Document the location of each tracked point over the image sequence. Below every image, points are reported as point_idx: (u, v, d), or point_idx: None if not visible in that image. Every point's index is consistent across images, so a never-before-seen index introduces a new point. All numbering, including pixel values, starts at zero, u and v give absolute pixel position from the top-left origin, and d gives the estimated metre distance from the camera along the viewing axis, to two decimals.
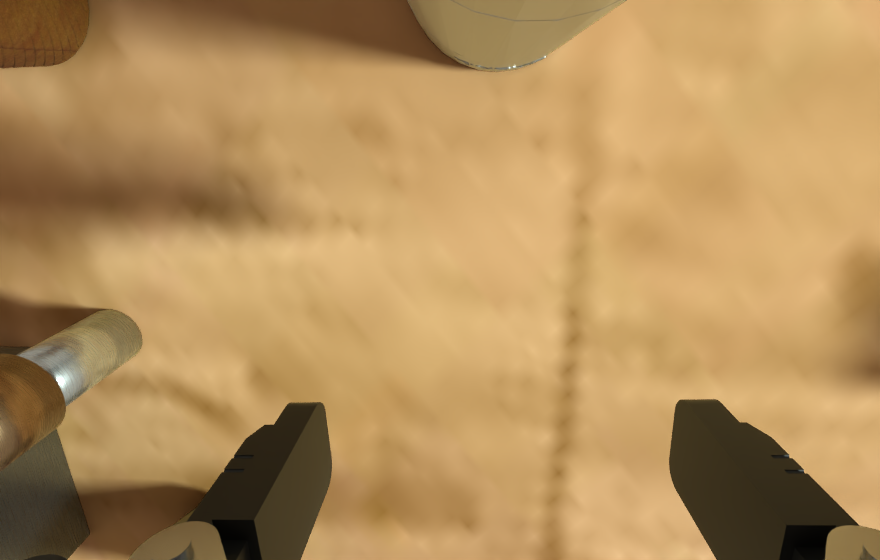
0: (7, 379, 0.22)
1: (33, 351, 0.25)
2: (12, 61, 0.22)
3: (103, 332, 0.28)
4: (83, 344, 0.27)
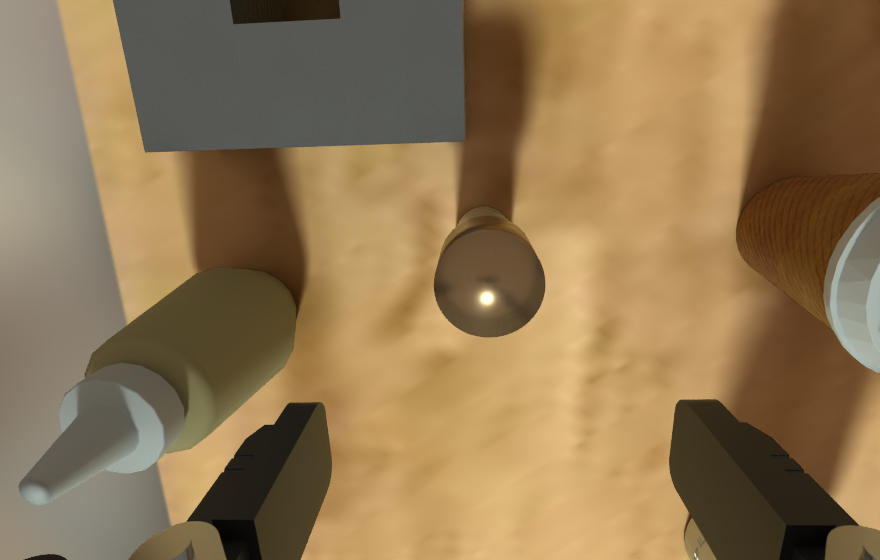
0: None
1: None
2: (763, 265, 0.27)
3: None
4: None
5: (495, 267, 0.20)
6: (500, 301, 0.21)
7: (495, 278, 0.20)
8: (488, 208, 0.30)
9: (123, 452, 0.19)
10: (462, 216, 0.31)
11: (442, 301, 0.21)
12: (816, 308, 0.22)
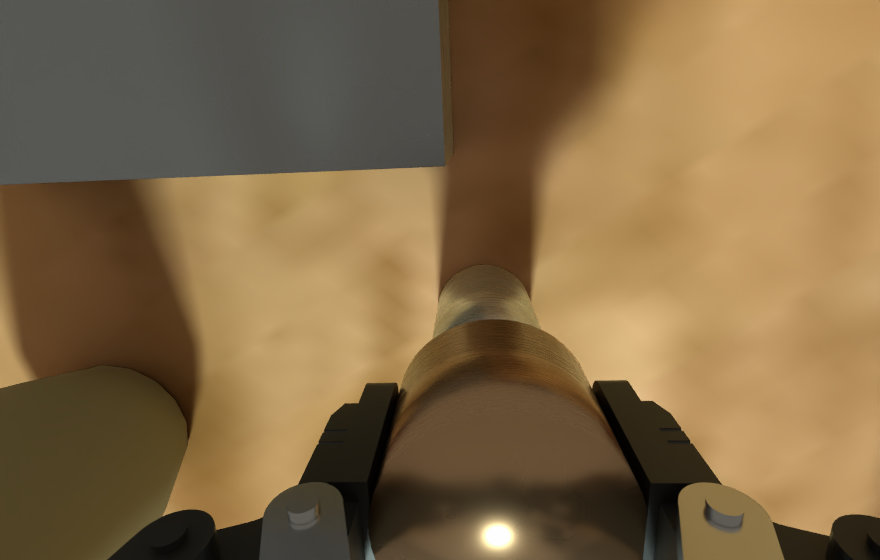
0: None
1: None
2: None
3: None
4: None
5: (522, 496, 0.08)
6: None
7: (522, 519, 0.08)
8: (492, 269, 0.18)
9: None
10: None
11: None
12: None
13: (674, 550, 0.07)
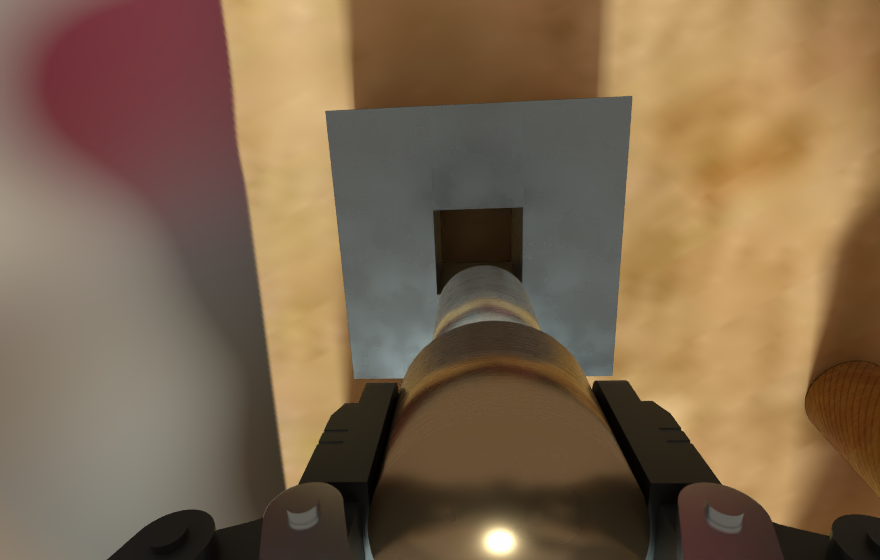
0: None
1: None
2: (834, 442, 0.33)
3: None
4: None
5: (522, 499, 0.08)
6: None
7: (522, 522, 0.08)
8: (492, 270, 0.17)
9: None
10: None
11: None
12: None
13: (674, 550, 0.07)
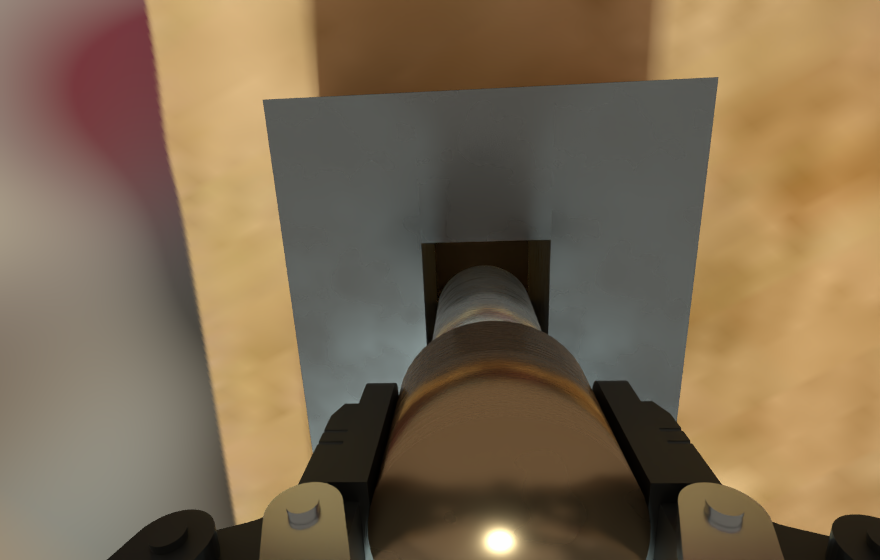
0: None
1: None
2: None
3: None
4: None
5: (522, 499, 0.08)
6: None
7: (522, 522, 0.08)
8: (492, 270, 0.17)
9: None
10: None
11: None
12: None
13: (674, 550, 0.07)
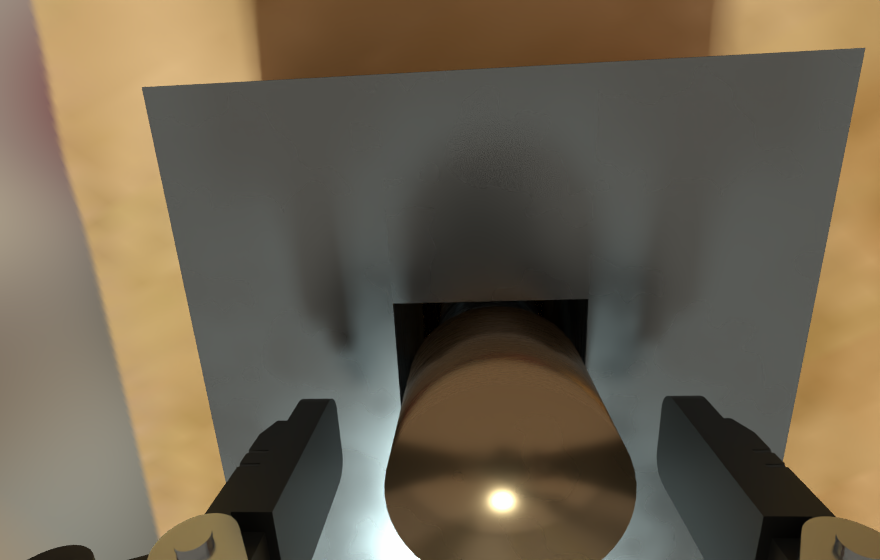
0: None
1: None
2: None
3: None
4: None
5: (522, 460, 0.09)
6: (533, 525, 0.09)
7: (522, 480, 0.09)
8: None
9: None
10: None
11: (404, 522, 0.09)
12: None
13: None
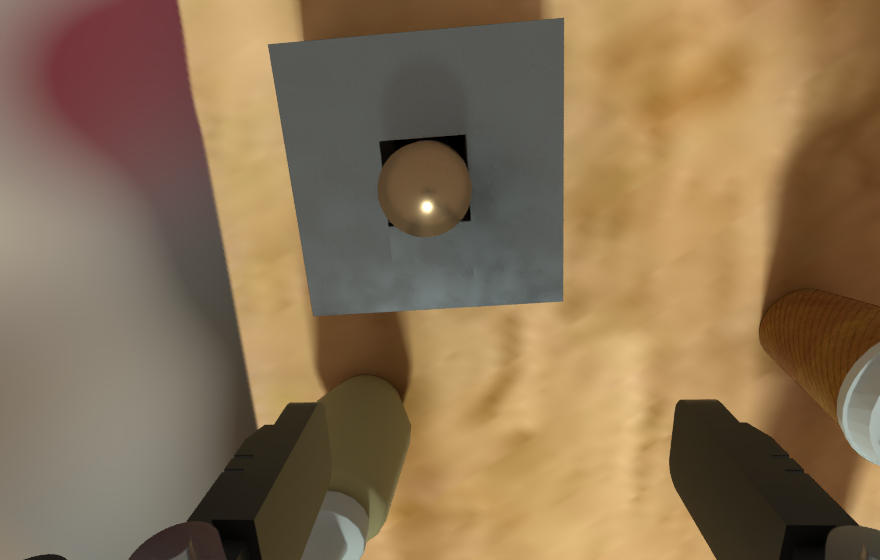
0: None
1: None
2: (784, 366, 0.35)
3: None
4: None
5: (428, 174, 0.24)
6: (435, 204, 0.24)
7: (429, 183, 0.24)
8: None
9: None
10: None
11: (385, 206, 0.24)
12: (830, 414, 0.30)
13: None
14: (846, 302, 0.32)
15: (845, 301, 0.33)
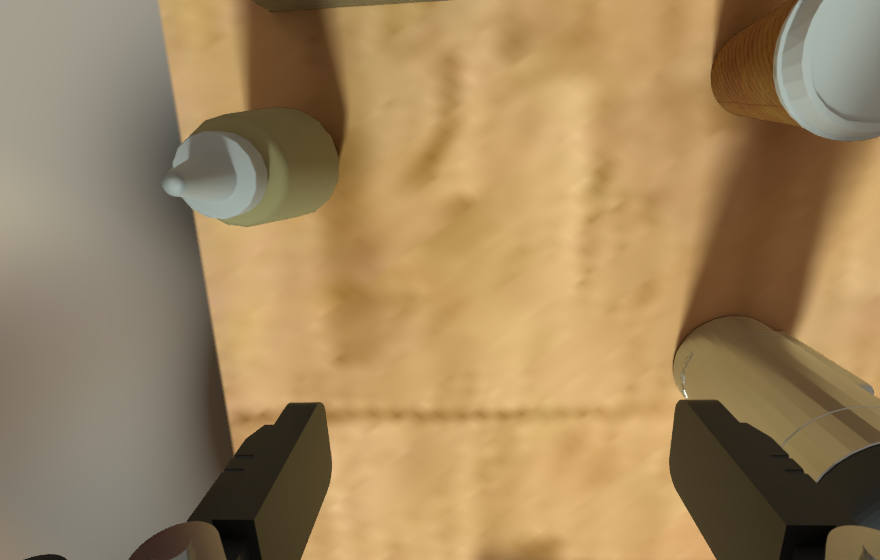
0: None
1: None
2: (732, 90, 0.33)
3: None
4: None
5: None
6: None
7: None
8: None
9: (227, 187, 0.25)
10: None
11: None
12: (770, 96, 0.28)
13: None
14: None
15: None
